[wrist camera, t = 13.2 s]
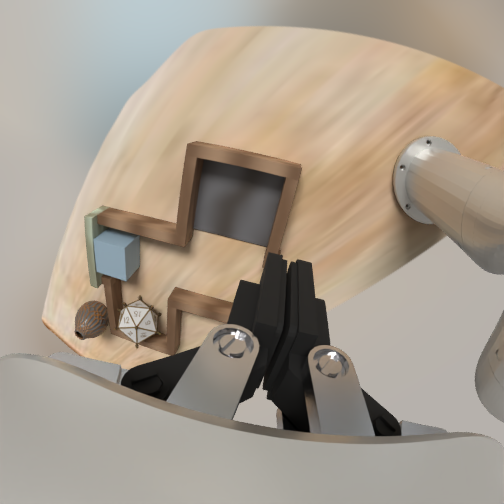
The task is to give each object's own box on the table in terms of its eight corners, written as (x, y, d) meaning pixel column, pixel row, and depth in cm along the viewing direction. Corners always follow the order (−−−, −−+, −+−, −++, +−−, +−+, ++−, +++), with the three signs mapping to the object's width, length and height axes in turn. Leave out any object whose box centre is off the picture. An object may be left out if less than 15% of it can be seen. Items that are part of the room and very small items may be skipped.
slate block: (140, 234, 42) (124, 247, 38) (140, 265, 45) (126, 281, 41) (110, 226, 42) (93, 239, 38) (111, 257, 45) (96, 271, 41)
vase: (114, 305, 50) (92, 333, 42) (113, 326, 53) (93, 353, 46) (88, 290, 50) (64, 315, 42) (88, 312, 53) (67, 337, 45)
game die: (161, 304, 53) (159, 353, 48) (120, 299, 50) (116, 349, 46) (163, 289, 45) (161, 347, 41) (115, 284, 43) (109, 342, 38)
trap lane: (304, 165, 34) (306, 172, 30) (245, 362, 52) (241, 381, 47) (106, 130, 35) (86, 133, 30) (111, 319, 52) (99, 334, 48)
